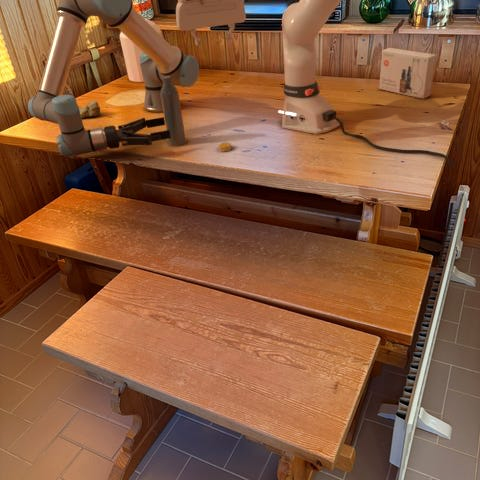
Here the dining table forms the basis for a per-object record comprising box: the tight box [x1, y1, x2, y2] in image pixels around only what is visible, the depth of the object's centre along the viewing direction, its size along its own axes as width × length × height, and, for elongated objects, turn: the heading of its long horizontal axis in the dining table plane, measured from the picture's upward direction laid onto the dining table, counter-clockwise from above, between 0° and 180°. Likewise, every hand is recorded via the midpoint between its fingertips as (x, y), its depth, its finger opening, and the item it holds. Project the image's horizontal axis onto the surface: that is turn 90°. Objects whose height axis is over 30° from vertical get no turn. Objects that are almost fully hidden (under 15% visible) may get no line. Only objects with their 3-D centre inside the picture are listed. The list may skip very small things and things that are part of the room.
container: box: [119, 17, 163, 83], centre depth 235 cm, size 21×21×28 cm
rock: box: [79, 99, 101, 119], centre depth 197 cm, size 11×6×10 cm
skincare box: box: [378, 47, 437, 100], centre depth 184 cm, size 21×6×16 cm, turn 40°
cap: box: [218, 142, 232, 152], centre depth 157 cm, size 4×4×2 cm
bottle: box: [160, 76, 187, 147], centre depth 159 cm, size 6×6×23 cm
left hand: (167, 127), depth 161 cm, fingers open, 13 cm apart
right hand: (213, 42), depth 138 cm, fingers open, 8 cm apart
